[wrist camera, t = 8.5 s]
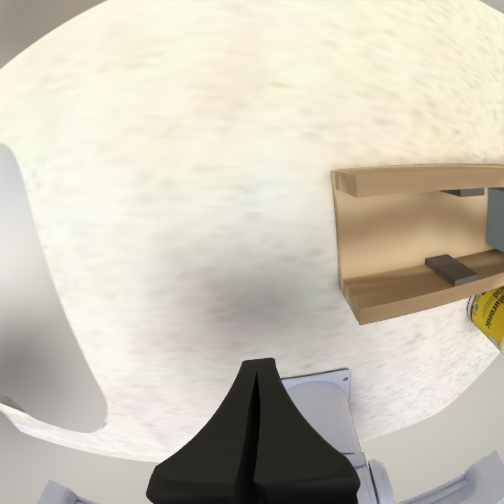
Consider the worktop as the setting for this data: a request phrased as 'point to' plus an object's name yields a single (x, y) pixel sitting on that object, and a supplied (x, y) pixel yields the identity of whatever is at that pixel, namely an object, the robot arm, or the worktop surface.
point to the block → (495, 218)
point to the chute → (414, 236)
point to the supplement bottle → (489, 315)
